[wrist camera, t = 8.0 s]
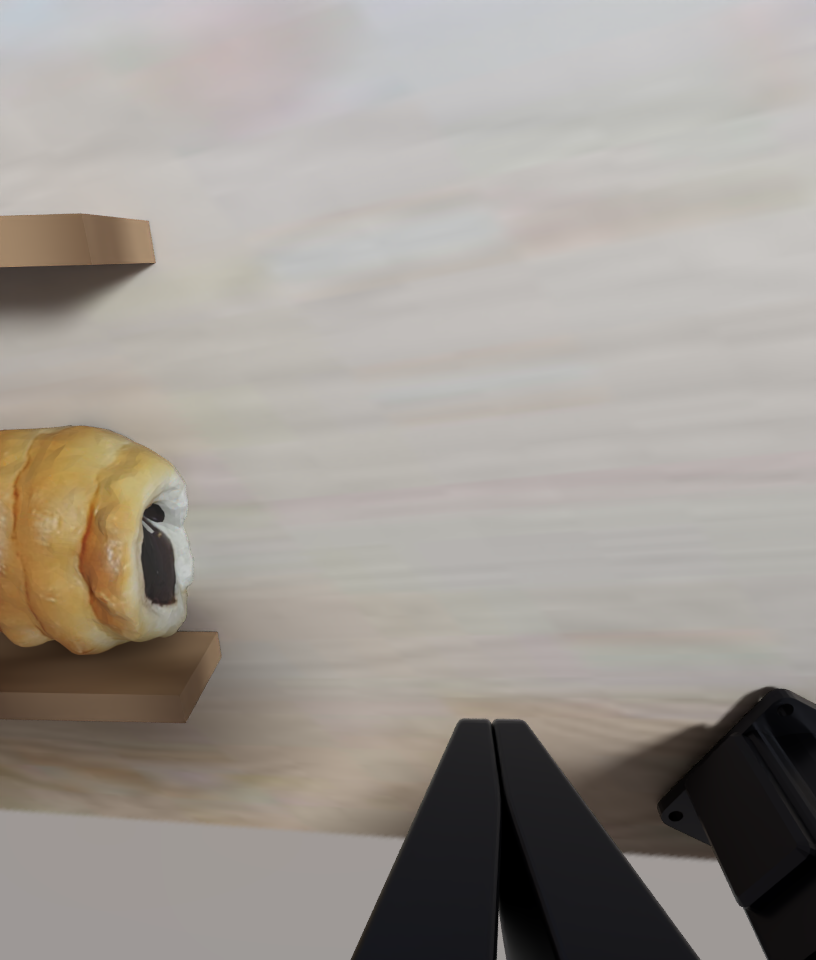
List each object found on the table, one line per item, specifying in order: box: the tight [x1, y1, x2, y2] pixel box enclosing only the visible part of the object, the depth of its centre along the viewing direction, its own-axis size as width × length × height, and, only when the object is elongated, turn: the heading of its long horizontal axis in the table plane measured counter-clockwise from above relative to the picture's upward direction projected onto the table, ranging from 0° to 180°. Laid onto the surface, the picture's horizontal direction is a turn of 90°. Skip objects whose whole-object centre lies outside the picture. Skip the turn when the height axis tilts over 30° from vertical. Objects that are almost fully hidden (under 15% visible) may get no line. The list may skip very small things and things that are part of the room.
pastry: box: [0, 425, 194, 655], centre depth 17 cm, size 9×7×4 cm
